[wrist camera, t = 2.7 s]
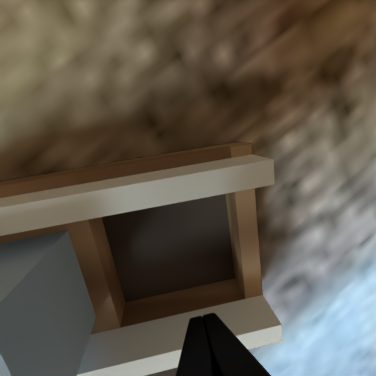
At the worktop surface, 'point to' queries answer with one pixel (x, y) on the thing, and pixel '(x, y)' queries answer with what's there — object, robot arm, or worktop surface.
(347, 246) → the worktop surface
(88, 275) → the channel base plate
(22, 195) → the channel walls
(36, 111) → the worktop surface
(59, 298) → the block
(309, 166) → the worktop surface
